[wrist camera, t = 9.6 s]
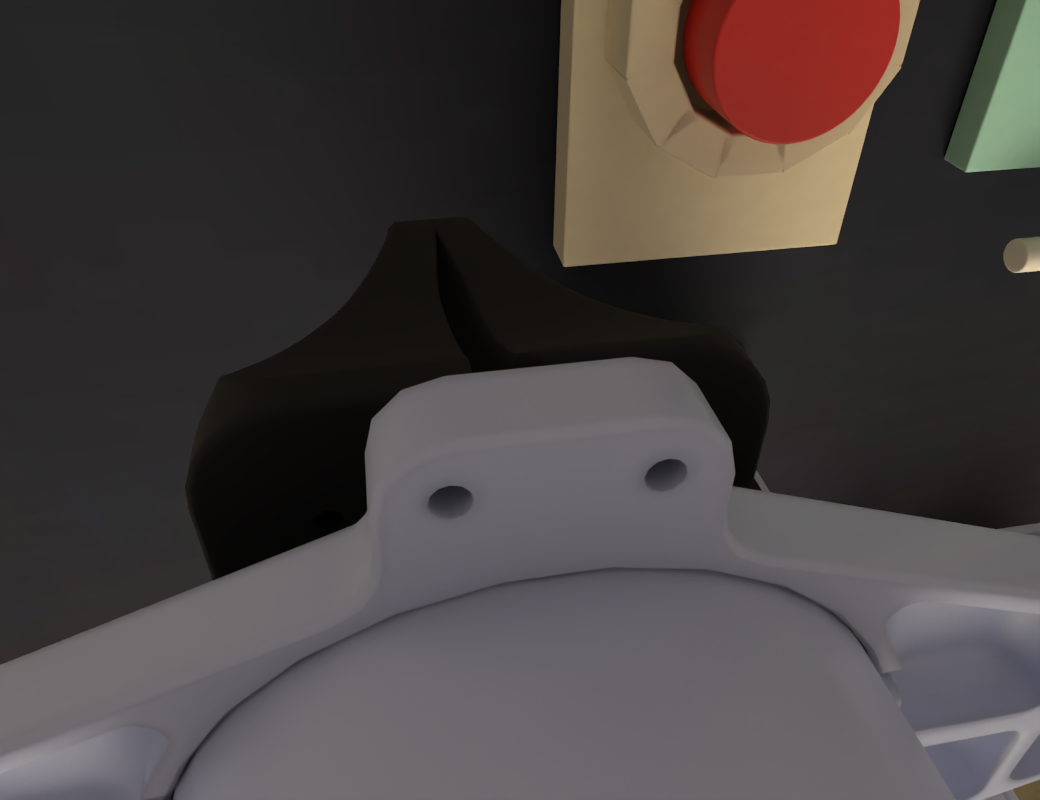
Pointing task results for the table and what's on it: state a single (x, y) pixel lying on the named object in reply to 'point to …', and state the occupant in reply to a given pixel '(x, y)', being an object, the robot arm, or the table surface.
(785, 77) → the red button
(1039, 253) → the lever
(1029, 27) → the bracket
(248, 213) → the table surface
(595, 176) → the button housing
